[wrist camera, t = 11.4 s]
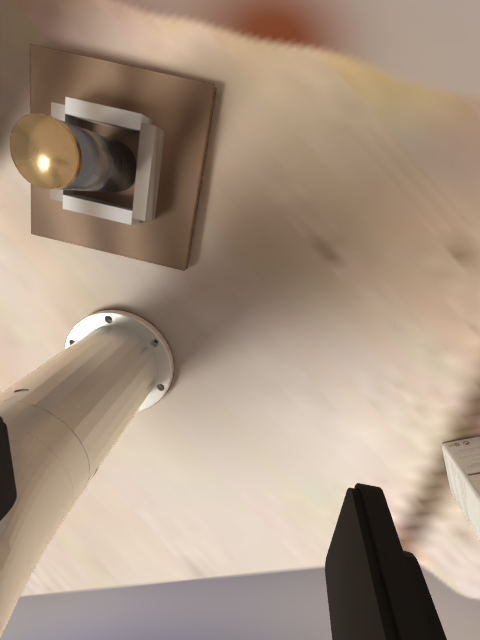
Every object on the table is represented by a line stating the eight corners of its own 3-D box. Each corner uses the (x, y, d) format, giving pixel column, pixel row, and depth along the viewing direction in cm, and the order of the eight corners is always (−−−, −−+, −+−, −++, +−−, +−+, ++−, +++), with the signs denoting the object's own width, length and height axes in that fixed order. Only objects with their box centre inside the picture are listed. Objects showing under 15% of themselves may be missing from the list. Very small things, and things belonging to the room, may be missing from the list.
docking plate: (216, 88, 29) (207, 74, 26) (187, 268, 35) (177, 276, 31) (39, 49, 30) (7, 30, 26) (39, 232, 35) (12, 236, 32)
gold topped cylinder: (111, 201, 32) (42, 202, 23) (81, 159, 31) (-4, 141, 22) (146, 174, 31) (88, 163, 22) (116, 129, 30) (42, 97, 21)
